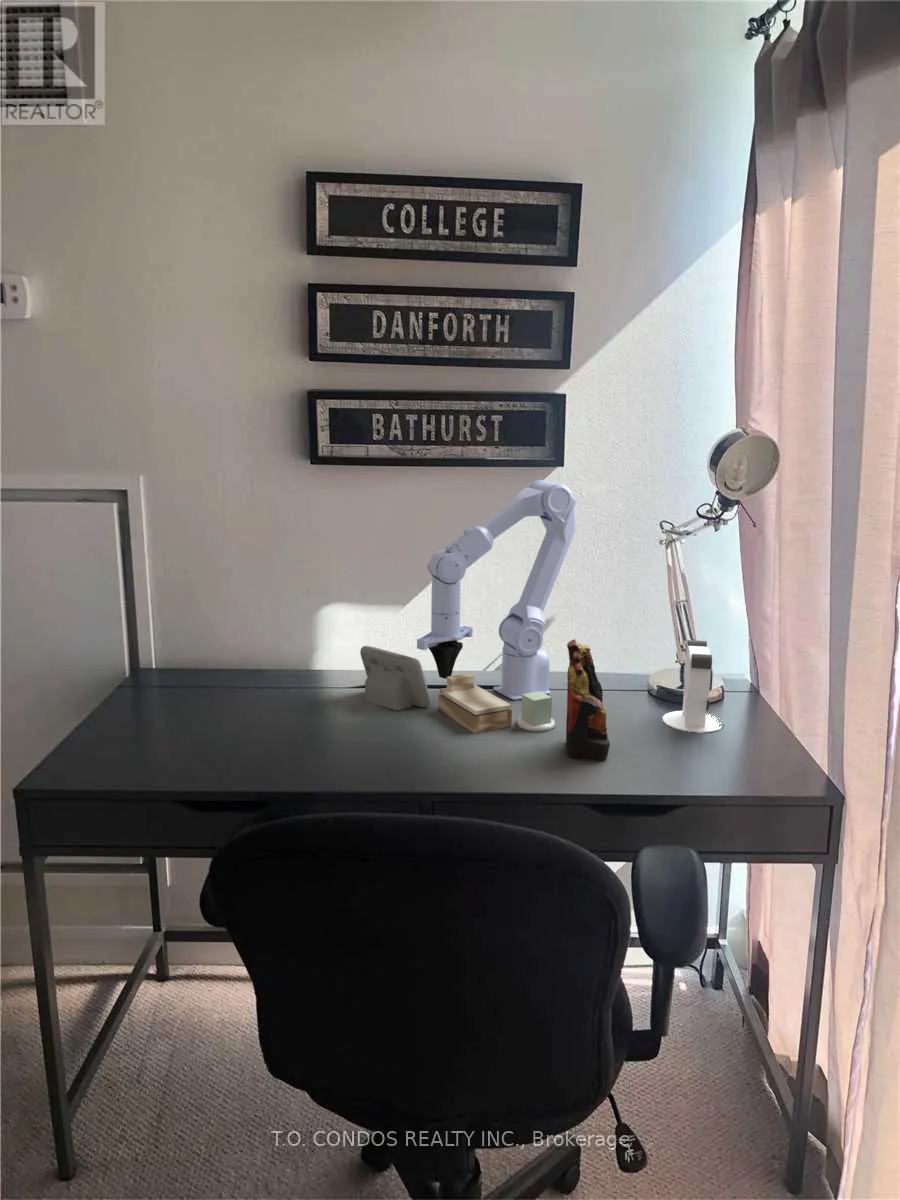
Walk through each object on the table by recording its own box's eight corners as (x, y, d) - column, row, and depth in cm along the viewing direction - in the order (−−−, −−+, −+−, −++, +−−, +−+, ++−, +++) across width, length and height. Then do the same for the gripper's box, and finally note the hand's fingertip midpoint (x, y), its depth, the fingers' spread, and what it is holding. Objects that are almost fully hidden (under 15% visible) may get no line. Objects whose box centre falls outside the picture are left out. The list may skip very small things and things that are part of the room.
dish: (540, 716, 173) (541, 712, 173) (562, 728, 167) (562, 724, 167) (510, 722, 170) (510, 718, 170) (530, 734, 164) (530, 730, 164)
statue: (608, 764, 152) (614, 650, 147) (561, 760, 153) (565, 647, 148) (609, 737, 163) (615, 631, 159) (565, 734, 165) (569, 628, 160)
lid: (473, 687, 179) (473, 671, 178) (511, 708, 167) (511, 691, 166) (439, 693, 176) (439, 676, 175) (475, 715, 164) (476, 697, 163)
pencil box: (473, 704, 180) (474, 688, 179) (511, 726, 168) (511, 710, 167) (438, 710, 176) (438, 694, 175) (474, 733, 164) (474, 716, 164)
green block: (539, 716, 171) (539, 691, 170) (550, 722, 168) (551, 697, 167) (521, 719, 169) (522, 694, 168) (532, 726, 166) (533, 700, 165)
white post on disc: (727, 736, 164) (734, 657, 161) (664, 732, 166) (669, 654, 163) (720, 714, 176) (726, 640, 173) (660, 710, 178) (665, 637, 174)
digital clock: (434, 708, 177) (435, 656, 175) (396, 717, 172) (396, 664, 170) (389, 687, 190) (389, 638, 188) (353, 695, 185) (352, 645, 182)
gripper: (436, 621, 170) (435, 689, 173) (484, 608, 181) (483, 673, 184) (409, 615, 175) (409, 682, 178) (458, 603, 185) (457, 666, 188)
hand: (445, 677), depth 181 cm, fingers closed
